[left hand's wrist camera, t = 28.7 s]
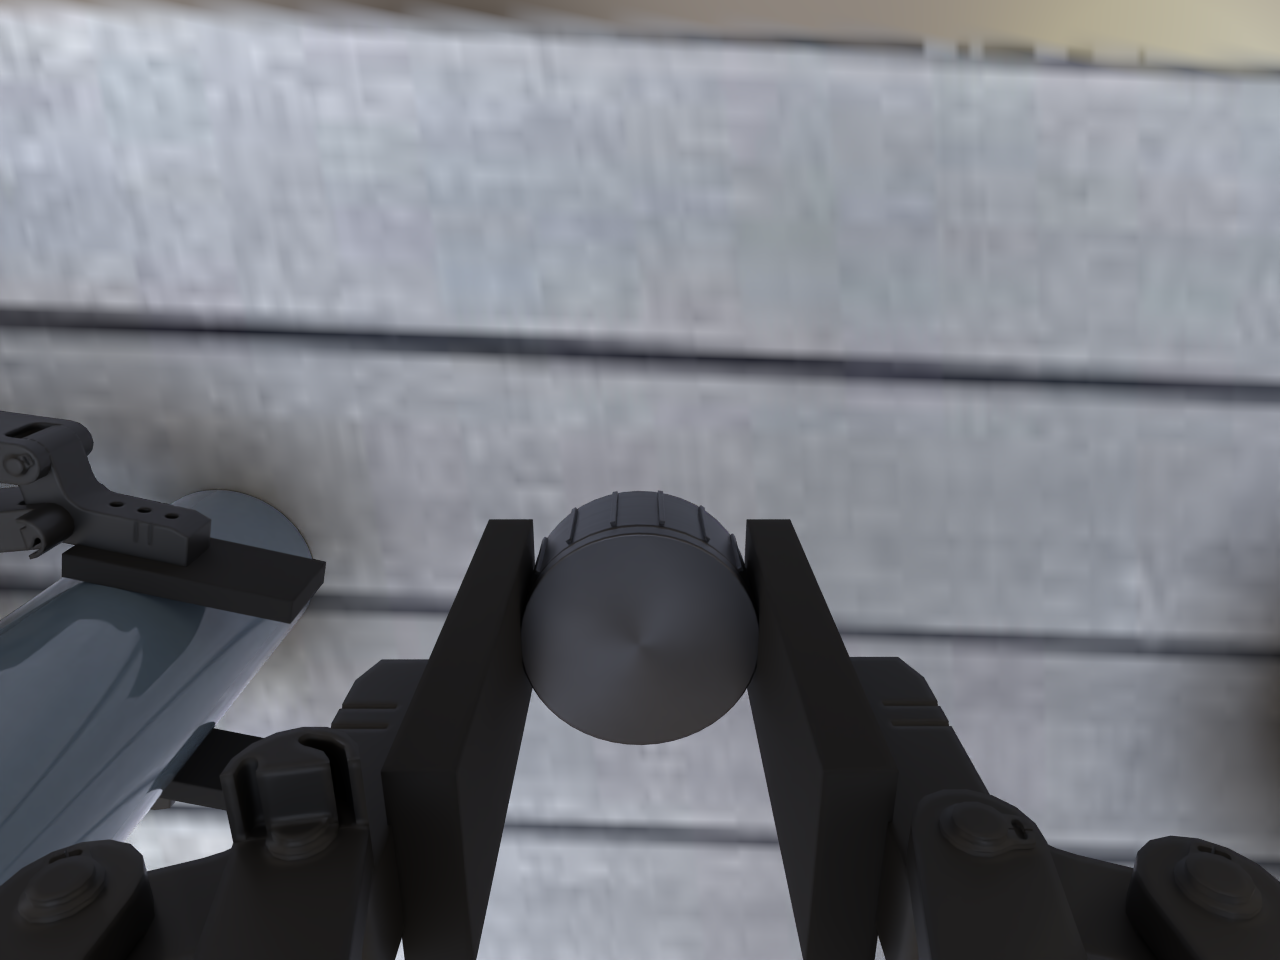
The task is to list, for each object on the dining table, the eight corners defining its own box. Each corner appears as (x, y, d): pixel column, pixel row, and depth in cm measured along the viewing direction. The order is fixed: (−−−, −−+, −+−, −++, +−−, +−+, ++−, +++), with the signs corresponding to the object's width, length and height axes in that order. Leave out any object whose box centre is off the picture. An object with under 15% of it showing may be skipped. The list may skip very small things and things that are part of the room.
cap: (485, 593, 15) (465, 648, 13) (636, 443, 14) (636, 481, 12) (642, 719, 16) (642, 786, 14) (794, 587, 15) (814, 641, 13)
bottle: (132, 488, 32) (-1166, 1269, 9) (303, 489, 32) (-558, 1272, 9) (164, 639, 34) (-816, 1577, 11) (325, 640, 34) (-327, 1581, 11)
